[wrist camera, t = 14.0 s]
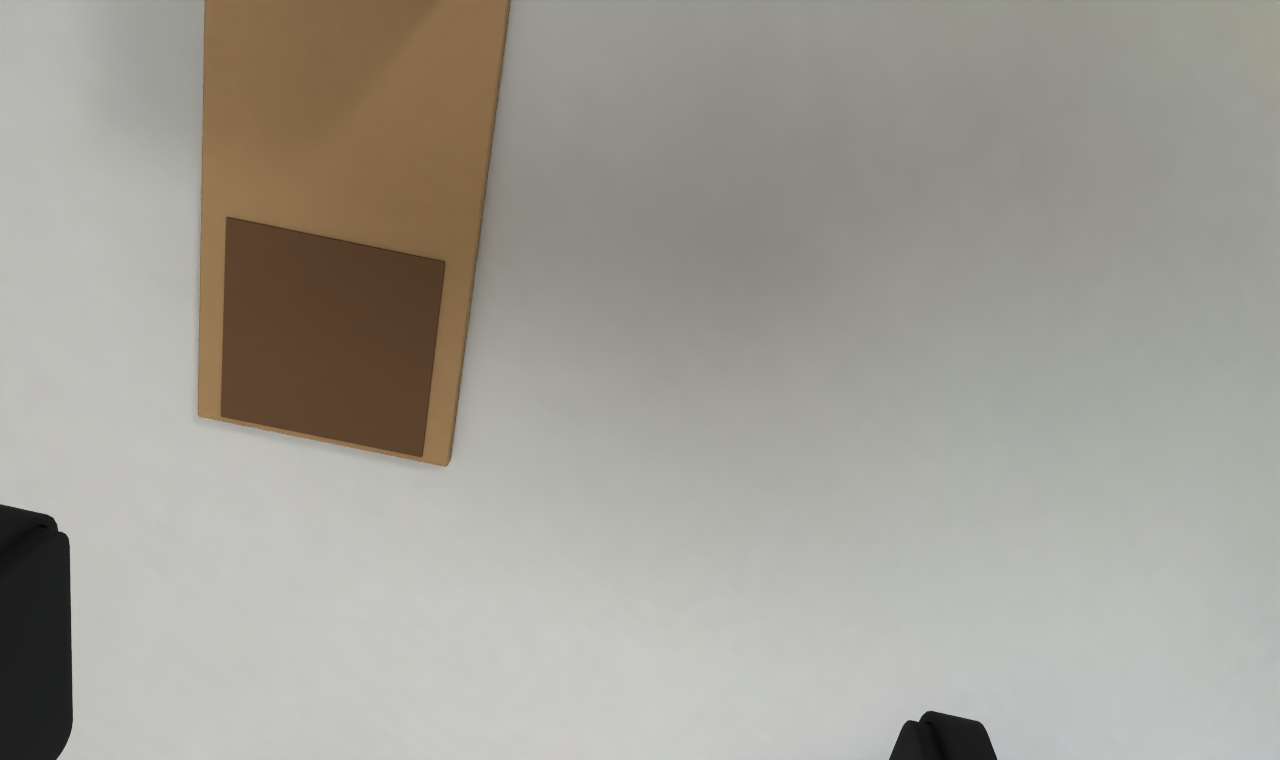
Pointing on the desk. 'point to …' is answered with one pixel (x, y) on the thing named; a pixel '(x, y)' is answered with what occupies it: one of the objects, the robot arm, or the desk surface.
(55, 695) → the robot arm
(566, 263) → the desk surface
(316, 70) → the word mat
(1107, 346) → the desk surface
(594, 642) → the desk surface
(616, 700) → the desk surface
